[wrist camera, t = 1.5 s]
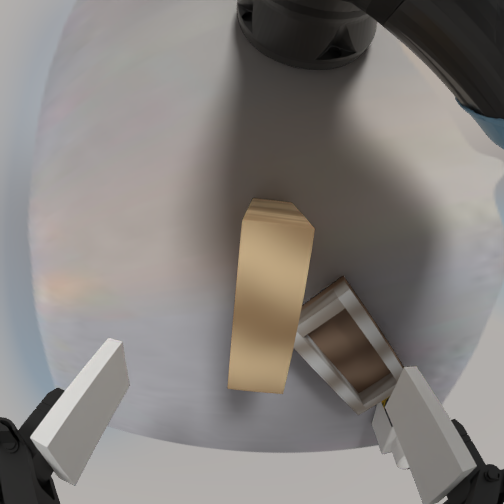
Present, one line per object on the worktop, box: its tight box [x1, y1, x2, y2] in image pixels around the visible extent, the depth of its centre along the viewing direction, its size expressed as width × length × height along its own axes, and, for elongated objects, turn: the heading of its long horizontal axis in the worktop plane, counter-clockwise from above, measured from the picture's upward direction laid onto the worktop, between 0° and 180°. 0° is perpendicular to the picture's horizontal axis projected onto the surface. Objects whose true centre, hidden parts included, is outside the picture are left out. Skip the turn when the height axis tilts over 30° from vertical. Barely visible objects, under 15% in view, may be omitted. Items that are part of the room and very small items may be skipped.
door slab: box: [228, 198, 315, 394], centre depth 24 cm, size 12×4×14 cm, turn 175°
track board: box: [293, 276, 404, 415], centre depth 32 cm, size 18×9×4 cm, turn 39°
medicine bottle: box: [372, 396, 410, 469], centre depth 31 cm, size 7×7×12 cm
